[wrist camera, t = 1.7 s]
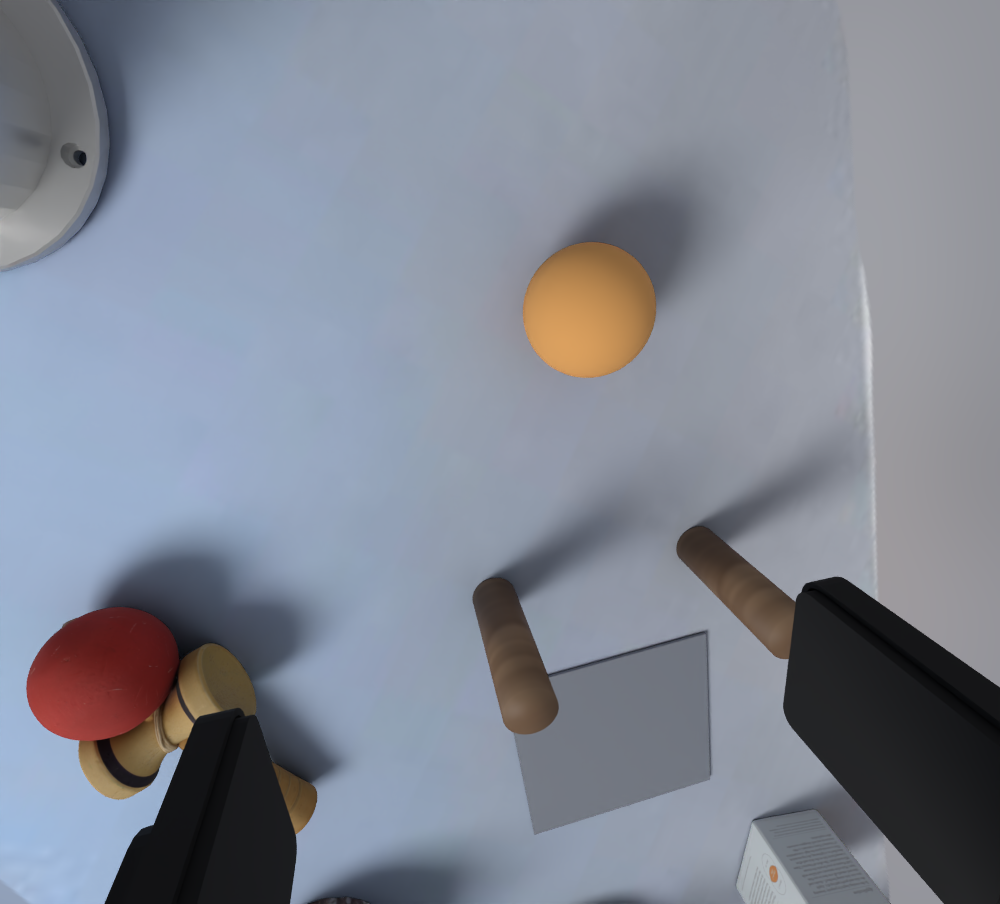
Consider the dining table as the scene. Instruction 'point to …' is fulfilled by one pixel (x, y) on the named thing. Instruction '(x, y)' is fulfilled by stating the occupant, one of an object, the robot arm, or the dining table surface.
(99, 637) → the kendama
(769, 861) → the small box
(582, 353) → the ball
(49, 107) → the robot arm
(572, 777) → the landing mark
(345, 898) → the cupcake
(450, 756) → the dining table surface
